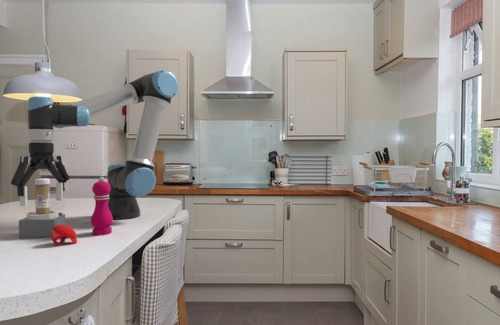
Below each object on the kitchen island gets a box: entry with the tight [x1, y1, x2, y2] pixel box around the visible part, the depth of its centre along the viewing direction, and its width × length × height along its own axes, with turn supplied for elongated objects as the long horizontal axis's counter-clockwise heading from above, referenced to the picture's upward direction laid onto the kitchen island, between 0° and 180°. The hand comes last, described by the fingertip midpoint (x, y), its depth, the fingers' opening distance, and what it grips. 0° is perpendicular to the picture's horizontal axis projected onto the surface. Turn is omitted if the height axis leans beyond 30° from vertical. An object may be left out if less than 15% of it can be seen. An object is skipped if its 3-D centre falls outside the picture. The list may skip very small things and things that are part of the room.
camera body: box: [18, 210, 66, 239], centre depth 125 cm, size 11×10×8 cm
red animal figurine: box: [50, 224, 78, 247], centre depth 113 cm, size 8×6×6 cm
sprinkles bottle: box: [34, 177, 51, 215], centre depth 125 cm, size 5×5×13 cm
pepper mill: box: [90, 176, 114, 236], centre depth 126 cm, size 7×7×20 cm
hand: (42, 203), depth 125 cm, fingers open, 13 cm apart
